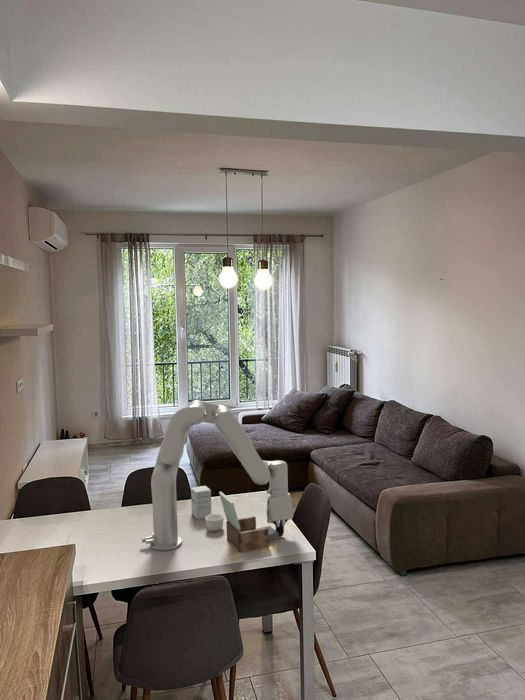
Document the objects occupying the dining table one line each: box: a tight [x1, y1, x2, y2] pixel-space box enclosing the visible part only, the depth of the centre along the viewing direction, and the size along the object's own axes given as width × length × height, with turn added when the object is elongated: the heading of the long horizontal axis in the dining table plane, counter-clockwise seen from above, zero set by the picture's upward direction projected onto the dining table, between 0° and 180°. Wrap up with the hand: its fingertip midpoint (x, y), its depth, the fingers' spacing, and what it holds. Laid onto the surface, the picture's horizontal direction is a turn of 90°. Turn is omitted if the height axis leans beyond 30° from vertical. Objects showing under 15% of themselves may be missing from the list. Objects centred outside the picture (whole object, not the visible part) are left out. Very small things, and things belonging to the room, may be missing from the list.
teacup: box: [204, 513, 225, 532], centre depth 236 cm, size 10×8×5 cm
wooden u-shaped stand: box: [225, 515, 270, 554], centre depth 220 cm, size 12×15×8 cm
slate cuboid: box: [257, 525, 280, 543], centre depth 224 cm, size 6×8×4 cm
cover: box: [218, 491, 241, 533], centre depth 216 cm, size 12×14×1 cm
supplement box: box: [190, 485, 212, 520], centre depth 251 cm, size 7×7×13 cm
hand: (279, 534), depth 226 cm, fingers closed
